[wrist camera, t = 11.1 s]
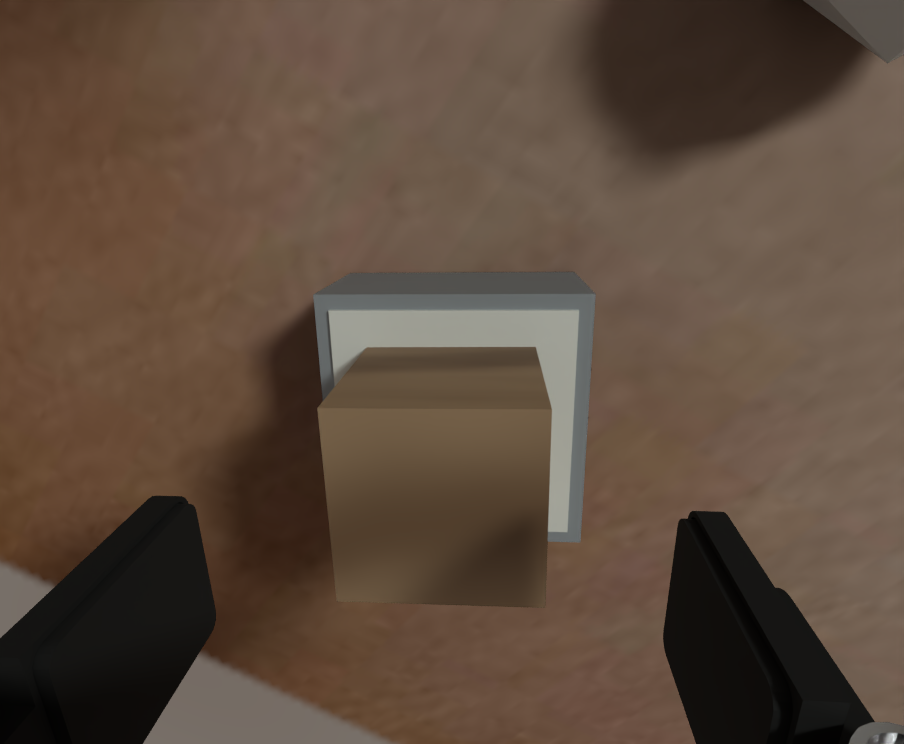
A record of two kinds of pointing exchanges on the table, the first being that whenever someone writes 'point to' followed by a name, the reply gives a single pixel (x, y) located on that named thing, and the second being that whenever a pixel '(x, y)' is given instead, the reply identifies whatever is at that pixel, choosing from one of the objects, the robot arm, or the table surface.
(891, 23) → the die
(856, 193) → the table surface
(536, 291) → the block
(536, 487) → the walnut cube
